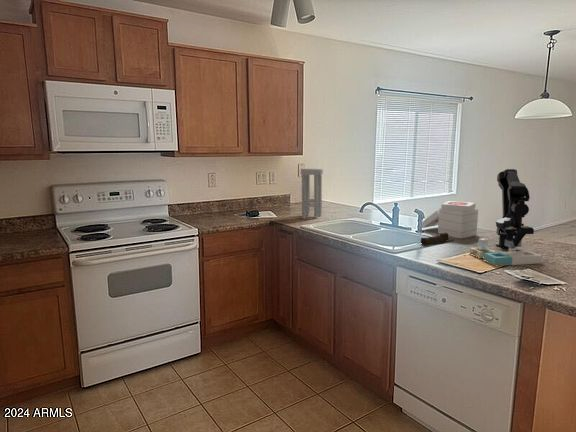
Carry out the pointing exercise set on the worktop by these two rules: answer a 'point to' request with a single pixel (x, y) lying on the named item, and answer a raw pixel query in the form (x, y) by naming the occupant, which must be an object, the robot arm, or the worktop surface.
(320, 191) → the stool
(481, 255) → the frame
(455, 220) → the pizza boxes
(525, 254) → the dock
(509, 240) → the gray rectangular block
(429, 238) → the hand tool
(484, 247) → the pin
